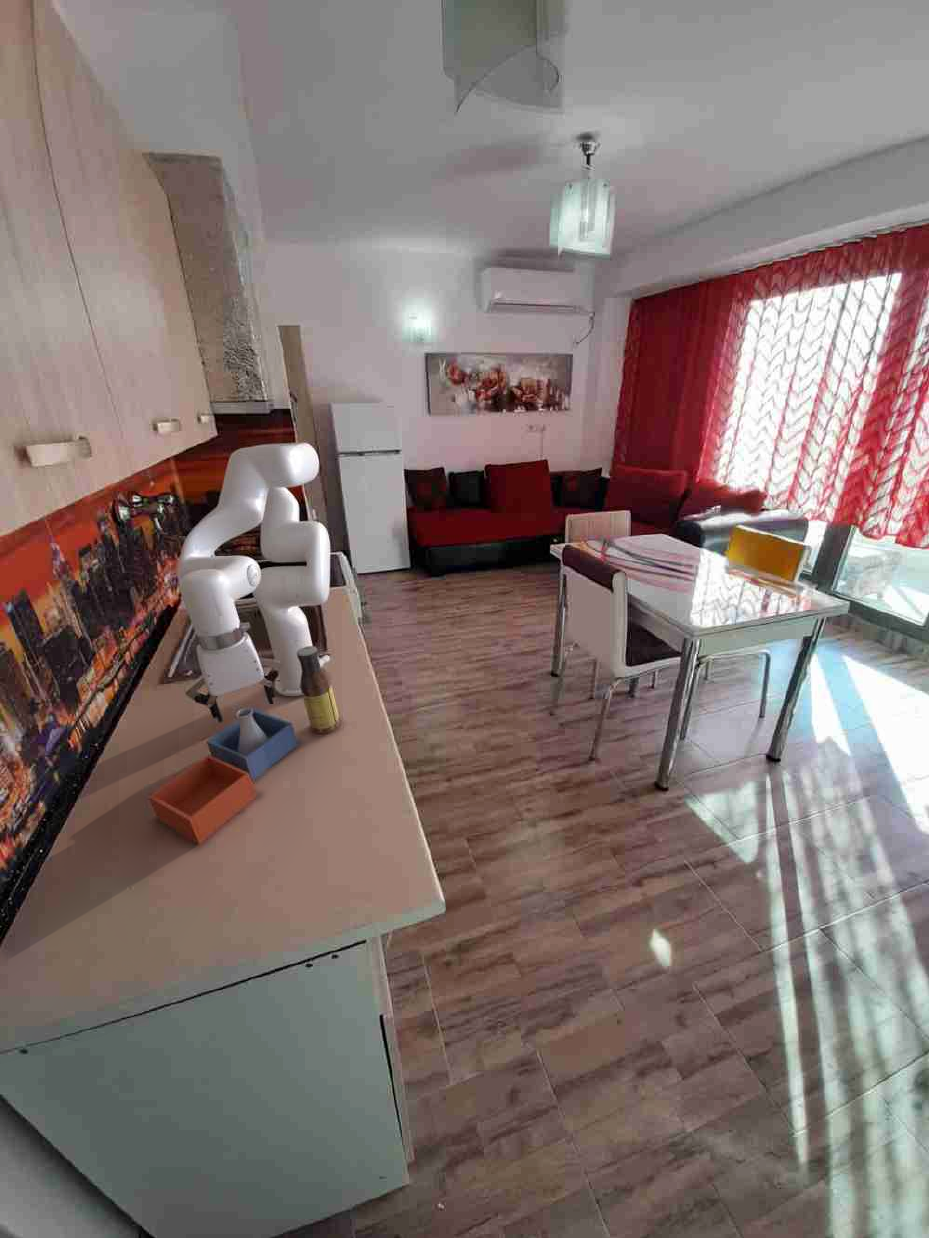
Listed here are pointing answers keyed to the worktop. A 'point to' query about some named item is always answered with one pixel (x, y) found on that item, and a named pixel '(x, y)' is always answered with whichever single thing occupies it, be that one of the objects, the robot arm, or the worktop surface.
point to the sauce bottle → (317, 692)
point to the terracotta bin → (203, 798)
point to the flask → (249, 732)
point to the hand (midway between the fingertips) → (245, 709)
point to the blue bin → (262, 756)
